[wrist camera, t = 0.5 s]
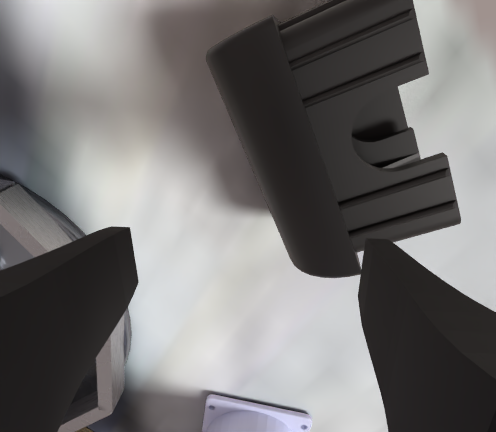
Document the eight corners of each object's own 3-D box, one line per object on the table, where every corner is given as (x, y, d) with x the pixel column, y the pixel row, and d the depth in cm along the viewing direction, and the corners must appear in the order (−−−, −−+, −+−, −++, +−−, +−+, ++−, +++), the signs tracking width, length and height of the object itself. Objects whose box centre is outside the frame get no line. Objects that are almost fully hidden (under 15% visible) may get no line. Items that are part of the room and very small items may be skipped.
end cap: (222, 50, 18) (183, 56, 12) (368, -18, 16) (407, -52, 10) (293, 224, 22) (290, 296, 16) (419, 184, 20) (472, 248, 14)
